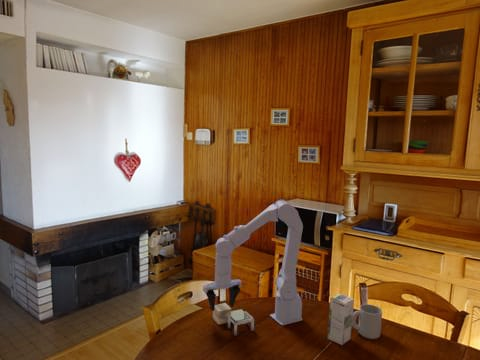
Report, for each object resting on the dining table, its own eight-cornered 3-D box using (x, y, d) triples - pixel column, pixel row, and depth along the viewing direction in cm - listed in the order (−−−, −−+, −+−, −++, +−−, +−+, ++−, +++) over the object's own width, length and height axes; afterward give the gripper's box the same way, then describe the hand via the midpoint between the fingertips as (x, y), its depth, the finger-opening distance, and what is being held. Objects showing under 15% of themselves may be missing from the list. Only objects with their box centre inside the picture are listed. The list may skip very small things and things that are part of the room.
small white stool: (245, 322, 126) (246, 311, 126) (254, 330, 121) (254, 318, 121) (227, 327, 123) (227, 315, 122) (234, 335, 118) (235, 323, 117)
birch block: (225, 315, 131) (225, 302, 131) (230, 321, 127) (231, 308, 126) (212, 318, 129) (213, 305, 128) (218, 324, 125) (218, 311, 124)
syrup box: (335, 332, 122) (338, 292, 120) (351, 339, 118) (354, 298, 116) (326, 338, 118) (329, 297, 116) (342, 346, 114) (345, 303, 112)
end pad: (241, 310, 136) (241, 309, 136) (250, 318, 130) (250, 317, 130) (225, 313, 132) (225, 312, 132) (233, 322, 126) (233, 321, 126)
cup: (382, 340, 118) (384, 315, 117) (352, 337, 119) (353, 312, 118) (377, 329, 125) (378, 305, 124) (348, 326, 126) (349, 302, 125)
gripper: (235, 265, 133) (234, 299, 134) (200, 270, 126) (199, 306, 128) (244, 271, 127) (243, 307, 128) (207, 277, 120) (206, 315, 121)
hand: (221, 307), depth 127 cm, fingers open, 7 cm apart
